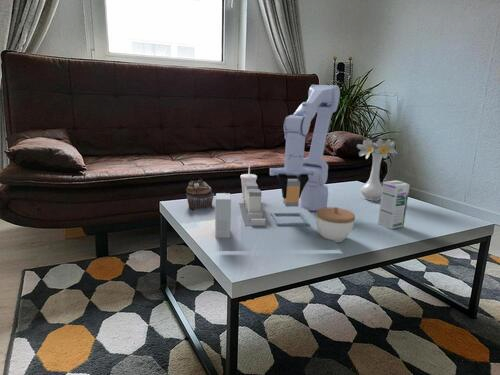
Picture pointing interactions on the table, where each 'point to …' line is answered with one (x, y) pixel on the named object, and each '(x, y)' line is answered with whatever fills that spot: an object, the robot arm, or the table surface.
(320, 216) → the lidded jar
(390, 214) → the syrup box
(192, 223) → the table surface
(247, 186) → the block
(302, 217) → the tray
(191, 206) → the cupcake
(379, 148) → the flower vase
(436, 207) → the table surface
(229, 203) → the skincare box
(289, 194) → the block
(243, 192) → the smoothie
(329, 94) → the robot arm
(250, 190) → the block
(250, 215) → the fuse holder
